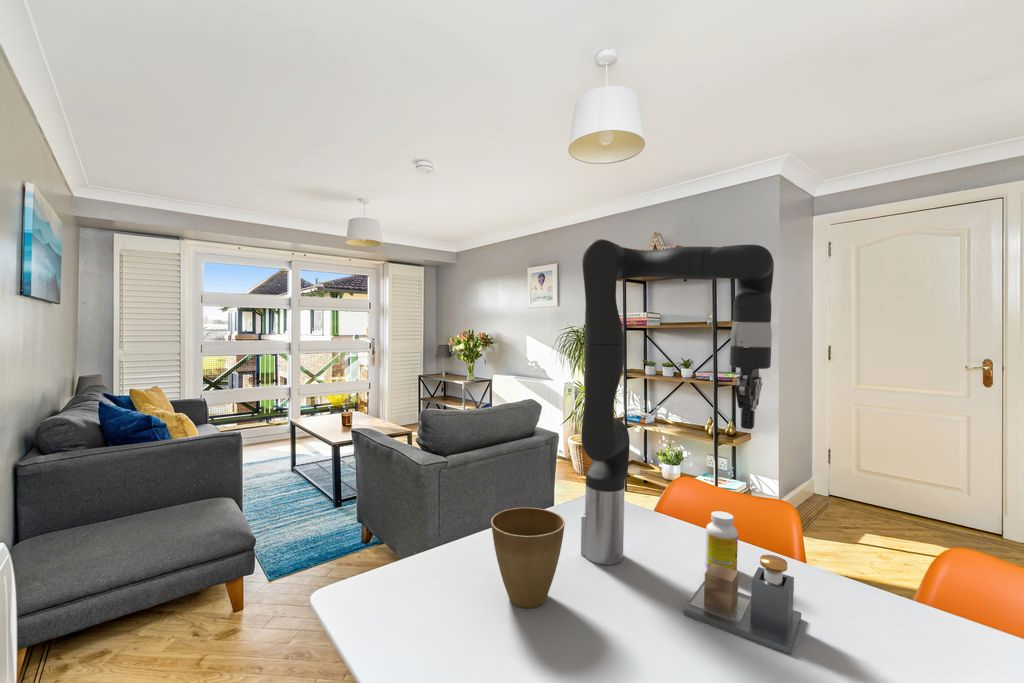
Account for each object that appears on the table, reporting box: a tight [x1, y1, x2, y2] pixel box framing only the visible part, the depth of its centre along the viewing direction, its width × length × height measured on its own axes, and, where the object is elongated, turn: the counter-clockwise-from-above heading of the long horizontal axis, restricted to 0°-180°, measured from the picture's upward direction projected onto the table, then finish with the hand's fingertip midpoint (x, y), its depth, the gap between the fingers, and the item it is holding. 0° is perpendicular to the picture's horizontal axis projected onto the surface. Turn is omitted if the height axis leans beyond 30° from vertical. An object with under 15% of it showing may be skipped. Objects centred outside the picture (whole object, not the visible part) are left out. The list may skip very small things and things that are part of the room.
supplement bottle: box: [704, 510, 739, 571], centre depth 110 cm, size 7×7×13 cm
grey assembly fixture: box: [683, 566, 802, 656], centre depth 92 cm, size 18×13×9 cm
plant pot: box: [490, 507, 566, 609], centre depth 97 cm, size 15×15×16 cm
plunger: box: [759, 554, 788, 586], centre depth 89 cm, size 4×4×11 cm
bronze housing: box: [704, 564, 739, 613], centre depth 95 cm, size 5×5×6 cm
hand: (747, 428), depth 99 cm, fingers closed
